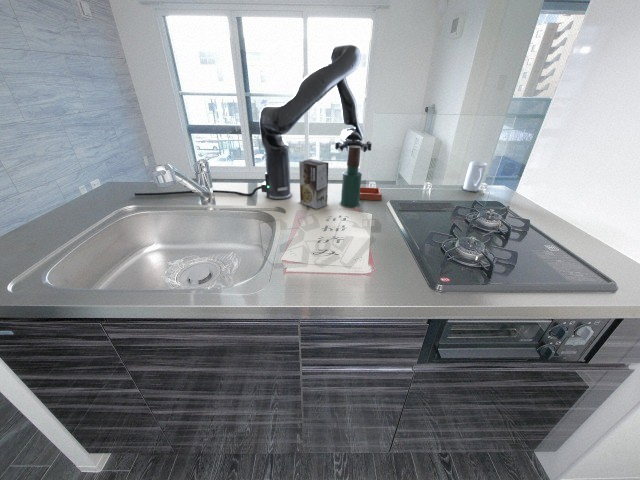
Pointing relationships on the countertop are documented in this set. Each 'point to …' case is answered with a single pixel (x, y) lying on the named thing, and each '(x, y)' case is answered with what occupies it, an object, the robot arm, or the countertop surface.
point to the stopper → (353, 156)
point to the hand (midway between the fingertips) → (353, 148)
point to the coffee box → (313, 183)
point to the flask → (351, 187)
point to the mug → (474, 175)
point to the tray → (370, 193)
